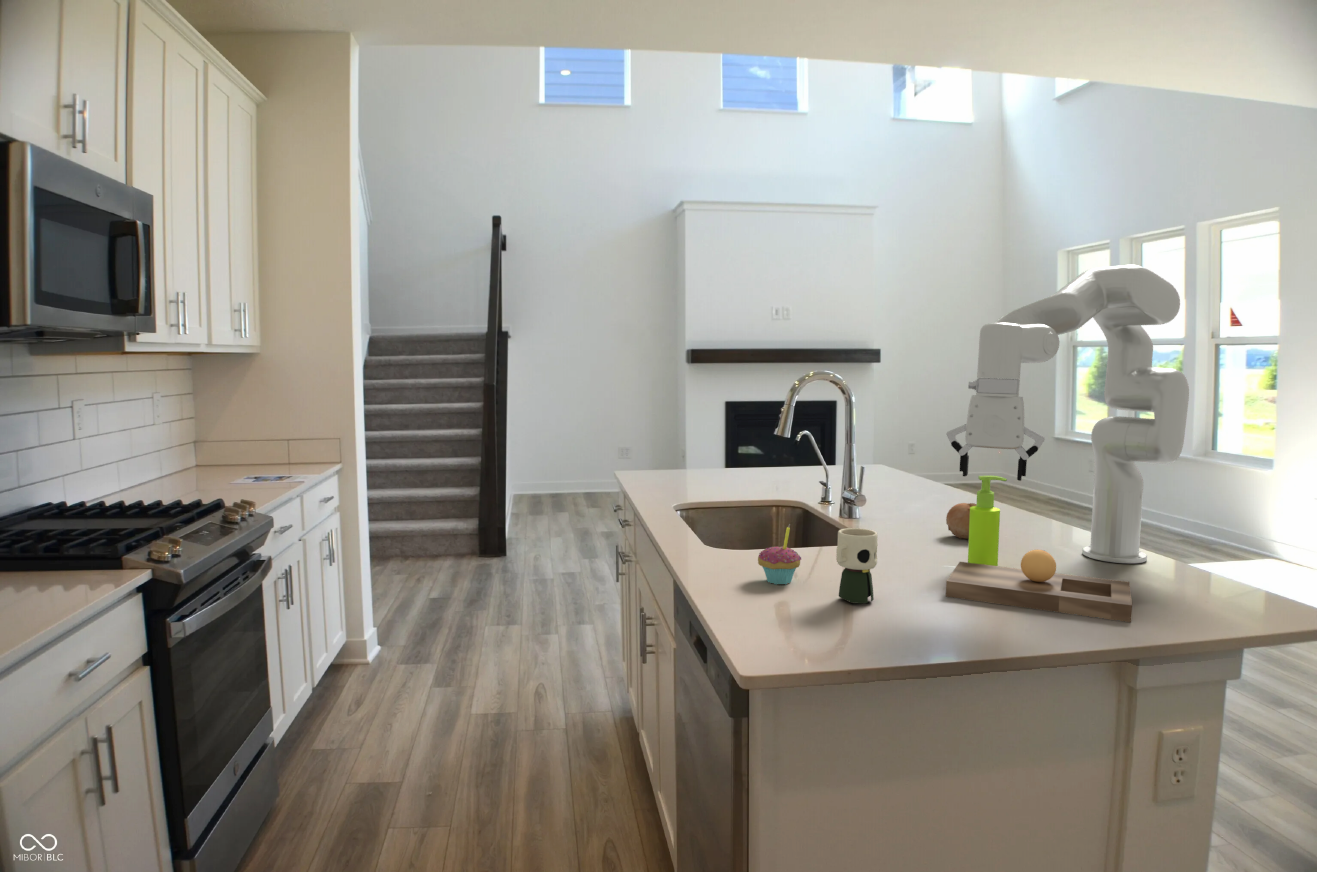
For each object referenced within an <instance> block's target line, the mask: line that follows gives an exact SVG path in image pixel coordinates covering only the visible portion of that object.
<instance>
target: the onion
mask: <svg viewBox="0 0 1317 872" xmlns="http://www.w3.org/2000/svg"><path fill="white" fill-rule="evenodd" d="M976 504H977V503H976V502H974V503H973V502H970V503H969V502H968V503H967V502H960V503H957V504H953V506H952V507H950V509H949V510H948V512H947V513H946V517H945V523H946V525H947V528H948V531H949V532H951V534H952V535H953V536H955V537H956V538H957V539H960V540H969V520H970V507H972V506H976Z"/></svg>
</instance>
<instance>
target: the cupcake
mask: <svg viewBox="0 0 1317 872" xmlns="http://www.w3.org/2000/svg"><path fill="white" fill-rule="evenodd" d="M790 526H791V524H790V523H789V524H788V526H787V527H786V528H785V529H786V530H785V535H784V541H783V545H782V546H777V545H776V546H769V547H766V548H764V549H763V550H762V551H761V550H760V552H759V553H758V557H757V564H758V566H761V567H762V569H763V572H764V574H765V578H766V581H767V583H769V582H770V583H769V584H771V583H774V584H773V585H777V584H785V585H788V584H787V583H789V584H791V583H792V582H793V581H792V580H793V578H794V574H795V572H796V570H797V568H799V567H800V566H801V560H802V556H800V554H798V552H797V551H795V550H794V549H792V548H791V547H788V540H789V536H790V531H791V528H790ZM790 582H791V583H790Z"/></svg>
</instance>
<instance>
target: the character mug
mask: <svg viewBox="0 0 1317 872" xmlns="http://www.w3.org/2000/svg"><path fill="white" fill-rule="evenodd" d="M878 545H879V544H878V532H877V531H875V530H872V529H868V528H857V527H852V528H851V527H847V528H841V529H838V531H837V546H836V555H835V556H836V562H837V565H839V566H840V567H842V568H844V569H843V570H842V572H841V576H840V582H839V588H838V589H839V590H838V597H839V598H840V599H842V600H844V601H847V602H849V603H854V604H868V603H869V597H870V601H871V602H873V601H874V599H875V597H874V585H873V584H874V583H873V579H872V578H873V577H872V573H871V570H872V569H874V568H875V567H876V566H877V563H878V554H877V553H878Z"/></svg>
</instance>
